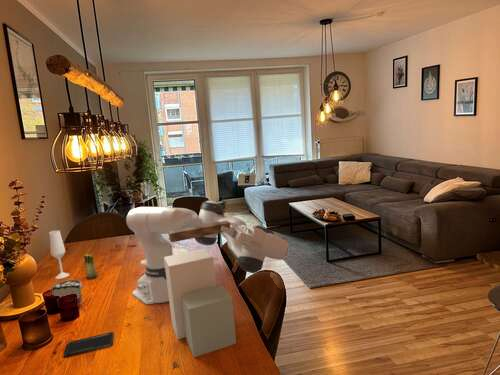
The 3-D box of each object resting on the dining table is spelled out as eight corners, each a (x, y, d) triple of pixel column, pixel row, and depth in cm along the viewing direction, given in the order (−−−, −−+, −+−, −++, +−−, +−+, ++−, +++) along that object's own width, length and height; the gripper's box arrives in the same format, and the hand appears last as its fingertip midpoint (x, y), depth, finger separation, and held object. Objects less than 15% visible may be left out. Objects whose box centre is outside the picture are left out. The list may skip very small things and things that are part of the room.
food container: (90, 299, 152) (86, 277, 150) (83, 306, 146) (80, 284, 144) (61, 301, 152) (57, 280, 150) (54, 309, 146) (50, 286, 144)
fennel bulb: (85, 277, 177) (82, 254, 175) (96, 274, 180) (92, 252, 178) (88, 280, 173) (84, 257, 171) (98, 277, 176) (95, 254, 174)
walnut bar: (227, 228, 126) (226, 220, 126) (230, 230, 123) (229, 222, 123) (169, 239, 118) (168, 231, 118) (171, 242, 115) (170, 233, 115)
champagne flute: (64, 272, 186) (57, 229, 182) (72, 274, 182) (64, 230, 178) (52, 277, 180) (44, 233, 176) (59, 279, 177) (51, 234, 173)
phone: (67, 342, 119) (113, 331, 124) (67, 345, 119) (114, 334, 124) (62, 356, 112) (112, 343, 116) (63, 359, 112) (112, 346, 116)
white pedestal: (211, 313, 132) (205, 248, 128) (220, 326, 123) (213, 256, 118) (172, 325, 126) (163, 257, 122) (177, 339, 117) (168, 266, 113)
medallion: (194, 260, 189) (193, 256, 189) (143, 271, 180) (142, 267, 179) (185, 248, 211) (185, 244, 210) (139, 257, 201) (138, 253, 201)
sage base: (226, 328, 121) (221, 285, 119) (236, 343, 112) (232, 297, 110) (186, 340, 116) (181, 295, 114) (193, 357, 107) (188, 309, 104)
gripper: (259, 254, 119) (224, 242, 113) (237, 239, 138) (206, 227, 132) (266, 237, 119) (232, 224, 114) (244, 224, 138) (213, 212, 132)
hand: (218, 226), depth 123 cm, fingers closed on walnut bar, 3 cm apart
